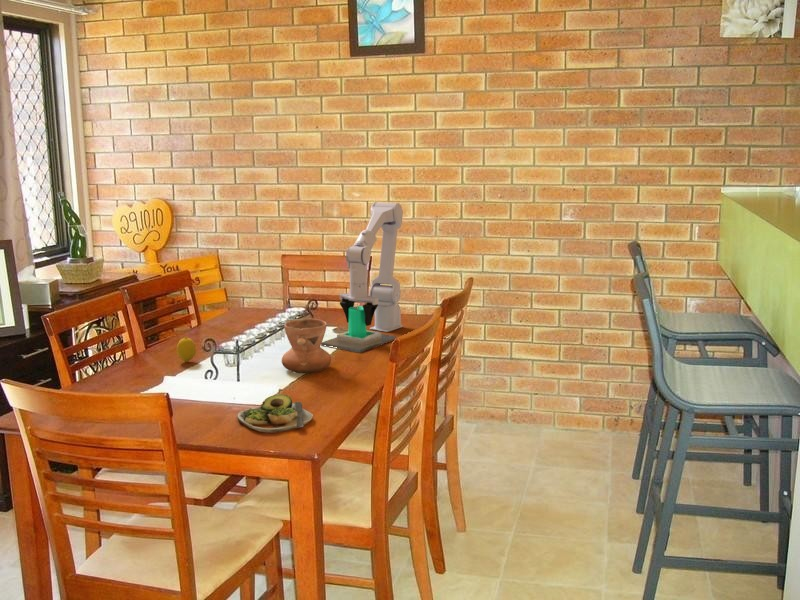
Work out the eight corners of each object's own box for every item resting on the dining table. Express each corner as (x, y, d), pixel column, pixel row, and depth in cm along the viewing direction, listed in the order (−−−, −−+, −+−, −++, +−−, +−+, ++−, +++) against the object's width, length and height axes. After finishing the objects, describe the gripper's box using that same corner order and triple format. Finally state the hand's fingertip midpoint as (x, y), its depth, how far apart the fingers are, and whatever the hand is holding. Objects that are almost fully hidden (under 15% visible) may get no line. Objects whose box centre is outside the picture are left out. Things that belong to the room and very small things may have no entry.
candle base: (358, 333, 294) (358, 324, 293) (396, 339, 285) (396, 330, 284) (321, 345, 278) (320, 336, 277) (360, 352, 269) (359, 343, 268)
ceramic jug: (327, 378, 242) (326, 330, 240) (276, 378, 243) (274, 329, 240) (335, 361, 260) (334, 315, 257) (288, 360, 261) (287, 315, 258)
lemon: (186, 358, 263) (185, 333, 261) (200, 361, 260) (198, 336, 259) (173, 363, 258) (172, 337, 257) (187, 365, 256) (185, 340, 254)
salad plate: (331, 426, 205) (331, 408, 204) (264, 442, 196) (263, 423, 195) (294, 405, 221) (293, 388, 220) (229, 418, 211) (229, 401, 210)
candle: (367, 337, 284) (368, 301, 282) (364, 341, 279) (364, 305, 276) (350, 336, 285) (350, 301, 283) (346, 340, 279) (346, 305, 277)
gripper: (333, 282, 278) (334, 323, 281) (368, 287, 270) (369, 328, 273) (346, 279, 284) (347, 318, 287) (382, 283, 276) (382, 324, 279)
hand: (359, 323), depth 280 cm, fingers open, 7 cm apart
